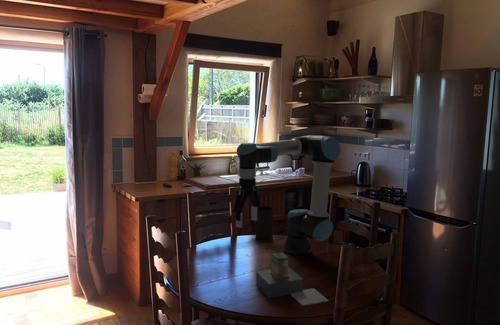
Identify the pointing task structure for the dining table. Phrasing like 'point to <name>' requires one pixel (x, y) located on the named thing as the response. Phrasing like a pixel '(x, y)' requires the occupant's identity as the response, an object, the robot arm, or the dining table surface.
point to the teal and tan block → (279, 266)
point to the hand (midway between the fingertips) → (246, 223)
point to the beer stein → (263, 224)
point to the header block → (278, 283)
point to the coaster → (309, 297)
